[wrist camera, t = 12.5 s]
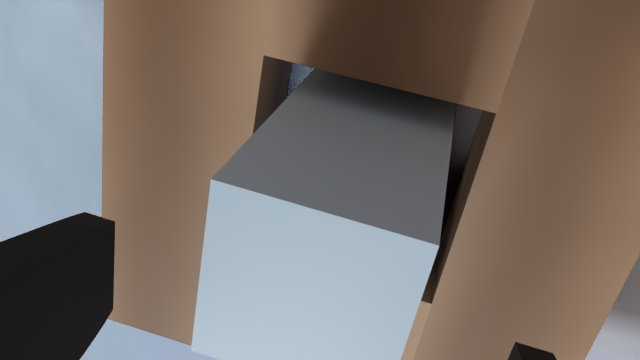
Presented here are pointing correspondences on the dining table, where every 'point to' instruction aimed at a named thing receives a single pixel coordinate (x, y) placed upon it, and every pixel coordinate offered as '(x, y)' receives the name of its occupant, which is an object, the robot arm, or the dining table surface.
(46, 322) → the robot arm
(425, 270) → the peg
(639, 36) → the socket block
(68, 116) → the dining table surface
